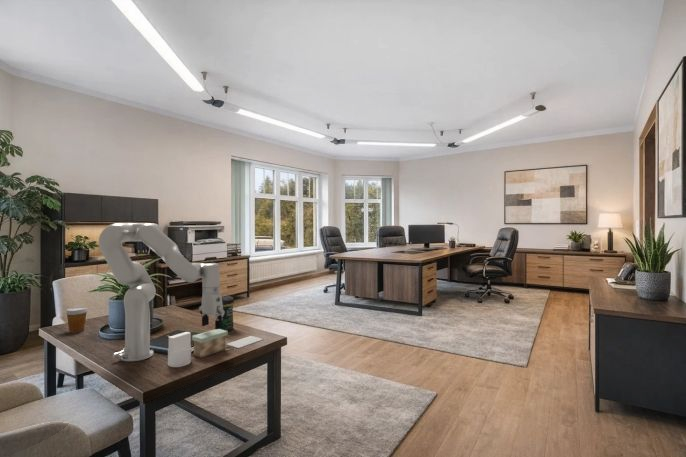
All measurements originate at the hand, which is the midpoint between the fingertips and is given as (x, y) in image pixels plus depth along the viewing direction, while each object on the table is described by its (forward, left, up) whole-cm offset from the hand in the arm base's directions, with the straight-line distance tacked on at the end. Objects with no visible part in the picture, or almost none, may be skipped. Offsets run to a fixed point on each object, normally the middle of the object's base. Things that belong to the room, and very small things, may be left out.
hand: (211, 326), depth 165 cm
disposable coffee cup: (-24, +84, -12) cm, 88 cm away
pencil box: (-1, +1, -12) cm, 12 cm away
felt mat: (+18, -1, -12) cm, 22 cm away
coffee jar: (+25, +24, -12) cm, 37 cm away
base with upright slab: (-16, +1, -12) cm, 20 cm away
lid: (-1, +1, -5) cm, 5 cm away
